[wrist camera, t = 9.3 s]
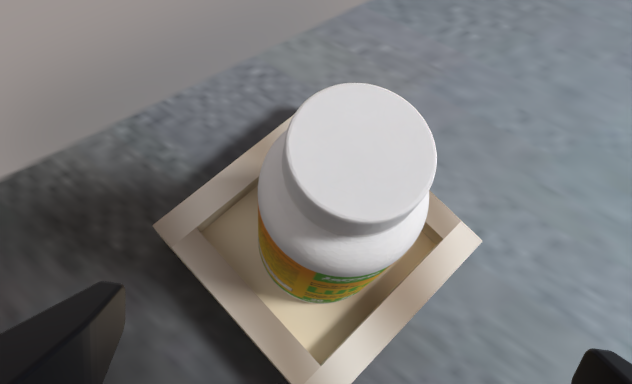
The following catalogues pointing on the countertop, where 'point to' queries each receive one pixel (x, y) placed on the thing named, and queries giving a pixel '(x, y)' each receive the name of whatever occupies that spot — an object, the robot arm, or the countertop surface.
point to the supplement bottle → (343, 191)
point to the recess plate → (293, 314)
